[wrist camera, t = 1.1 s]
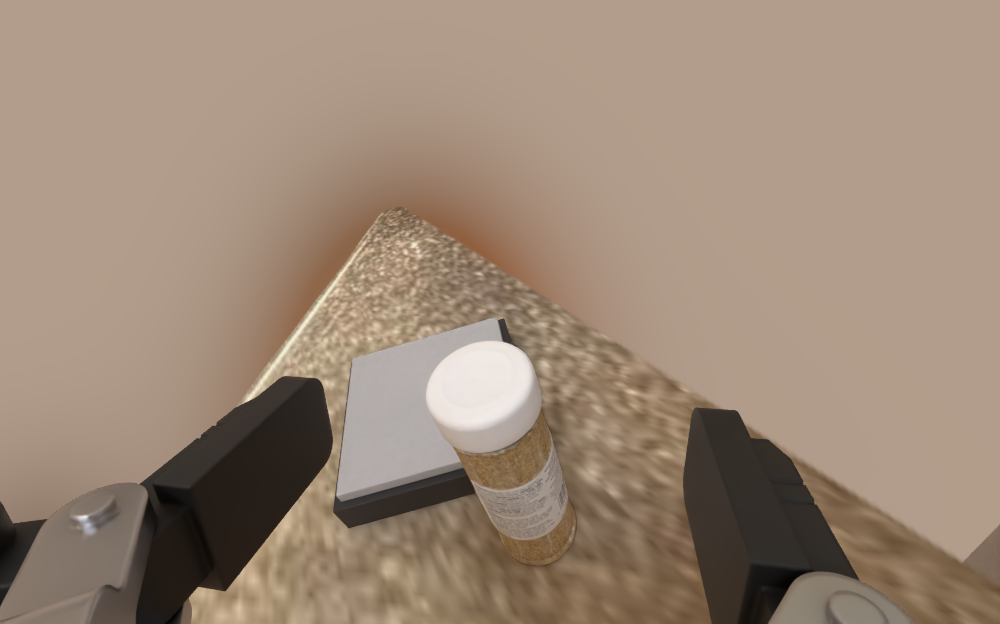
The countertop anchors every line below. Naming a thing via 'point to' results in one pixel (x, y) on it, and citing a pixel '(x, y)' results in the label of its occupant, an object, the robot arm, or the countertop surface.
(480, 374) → the sprinkles bottle
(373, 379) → the kitchen scale
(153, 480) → the robot arm
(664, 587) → the countertop surface
